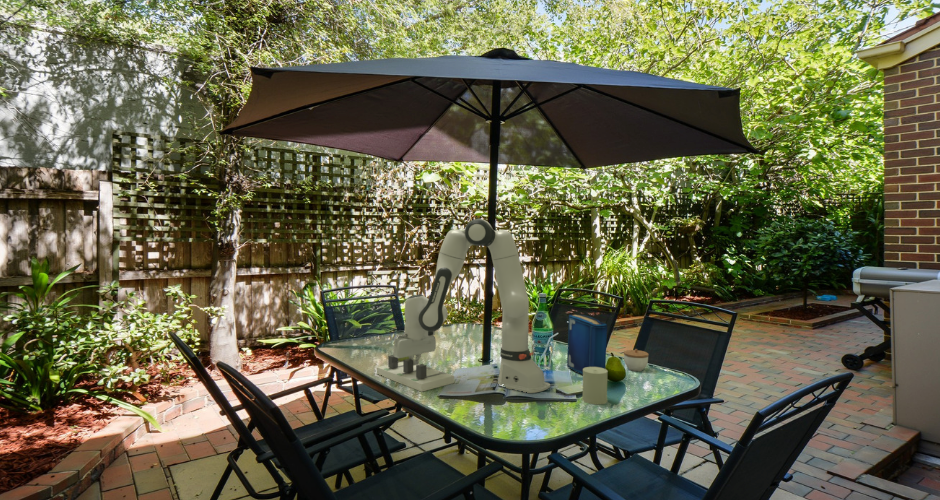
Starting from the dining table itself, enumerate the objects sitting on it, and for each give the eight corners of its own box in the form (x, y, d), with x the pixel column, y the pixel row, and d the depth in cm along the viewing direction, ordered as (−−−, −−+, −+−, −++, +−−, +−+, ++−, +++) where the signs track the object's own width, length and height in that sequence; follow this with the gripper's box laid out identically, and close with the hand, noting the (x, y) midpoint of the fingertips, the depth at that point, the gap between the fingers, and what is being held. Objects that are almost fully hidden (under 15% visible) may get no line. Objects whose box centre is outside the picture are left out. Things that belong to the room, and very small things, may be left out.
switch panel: (454, 382, 212) (454, 375, 212) (421, 391, 201) (421, 383, 200) (408, 366, 235) (408, 360, 235) (376, 374, 224) (376, 366, 224)
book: (608, 379, 218) (609, 321, 217) (594, 381, 215) (595, 322, 214) (579, 366, 238) (580, 313, 237) (566, 368, 235) (567, 314, 234)
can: (583, 403, 188) (583, 371, 188) (581, 395, 197) (581, 364, 197) (608, 405, 187) (609, 372, 186) (605, 396, 196) (606, 366, 196)
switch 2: (426, 377, 208) (426, 365, 207) (420, 379, 206) (420, 366, 205) (421, 375, 210) (422, 363, 210) (416, 377, 208) (416, 365, 208)
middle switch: (413, 371, 216) (413, 360, 215) (407, 373, 214) (407, 361, 213) (409, 370, 218) (409, 358, 218) (403, 371, 216) (403, 360, 216)
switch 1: (398, 367, 222) (398, 356, 222) (392, 368, 220) (392, 357, 220) (394, 365, 225) (394, 354, 224) (388, 367, 223) (388, 355, 222)
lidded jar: (643, 366, 239) (644, 346, 239) (651, 373, 229) (651, 352, 228) (620, 366, 240) (621, 346, 239) (627, 372, 229) (627, 351, 229)
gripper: (398, 337, 208) (398, 370, 209) (438, 330, 222) (437, 362, 223) (390, 334, 213) (390, 367, 213) (429, 328, 227) (428, 359, 227)
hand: (414, 364), depth 218 cm, fingers closed
